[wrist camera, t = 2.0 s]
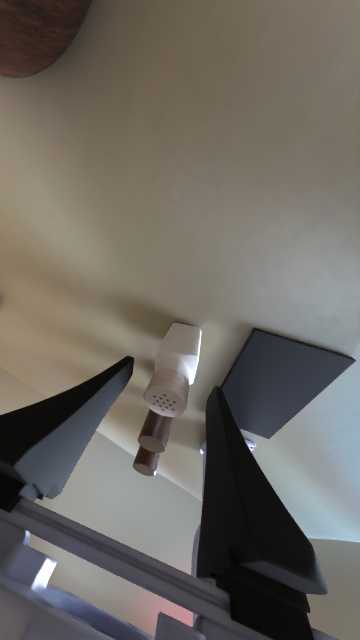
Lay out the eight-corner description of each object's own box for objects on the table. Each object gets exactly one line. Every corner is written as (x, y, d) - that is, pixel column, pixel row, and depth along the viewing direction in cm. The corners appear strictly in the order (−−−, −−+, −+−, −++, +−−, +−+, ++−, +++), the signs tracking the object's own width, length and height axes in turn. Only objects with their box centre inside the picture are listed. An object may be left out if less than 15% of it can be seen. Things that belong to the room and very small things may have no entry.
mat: (267, 435, 23) (269, 439, 22) (205, 412, 23) (205, 416, 23) (351, 356, 15) (356, 360, 14) (253, 327, 16) (255, 329, 15)
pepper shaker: (172, 320, 17) (137, 376, 9) (202, 326, 17) (196, 392, 8) (169, 344, 19) (138, 411, 11) (197, 350, 19) (187, 426, 10)
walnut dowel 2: (171, 408, 25) (153, 478, 17) (156, 403, 25) (131, 470, 17) (174, 399, 24) (156, 470, 16) (158, 393, 24) (133, 460, 16)
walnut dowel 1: (179, 384, 22) (162, 456, 14) (162, 379, 22) (136, 445, 14) (184, 372, 21) (168, 443, 13) (166, 366, 21) (139, 431, 13)
